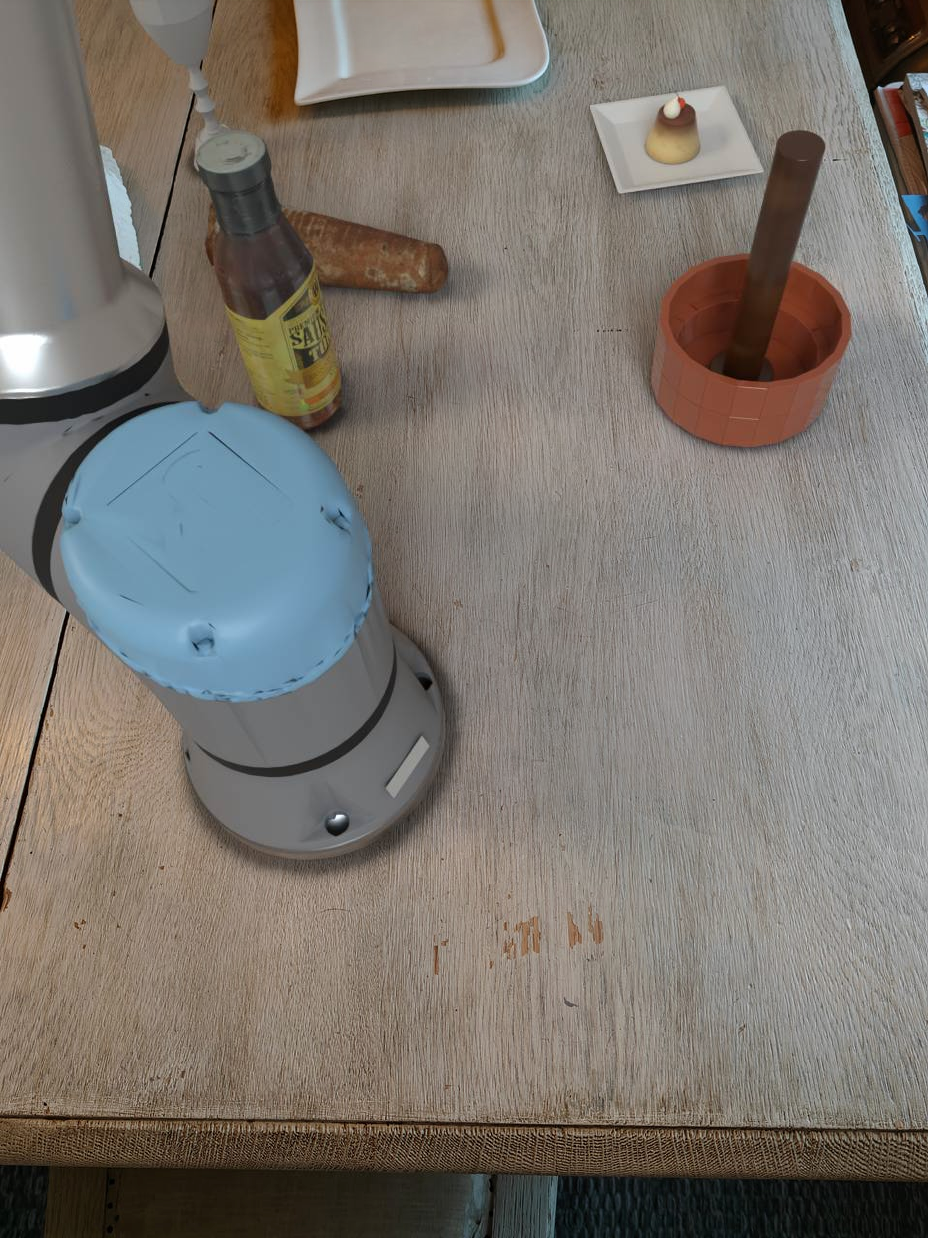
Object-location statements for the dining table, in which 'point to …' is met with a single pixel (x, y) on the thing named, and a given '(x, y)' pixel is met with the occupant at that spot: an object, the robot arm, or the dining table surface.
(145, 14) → the chalice
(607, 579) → the dining table surface
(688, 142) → the dessert
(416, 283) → the bread
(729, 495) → the dining table surface
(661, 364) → the bowl
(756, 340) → the wooden peg on base
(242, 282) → the sauce bottle
